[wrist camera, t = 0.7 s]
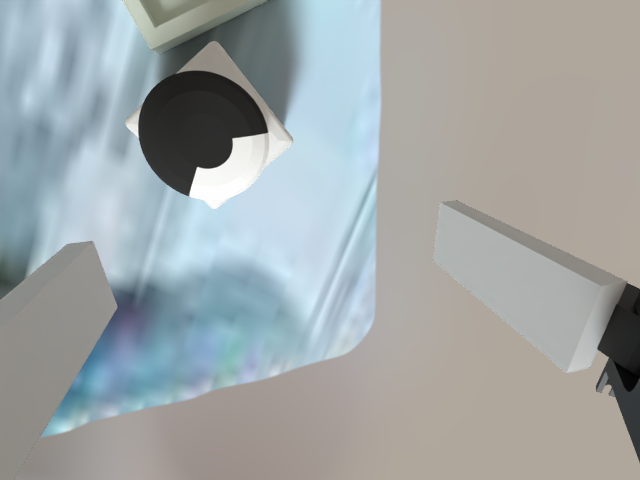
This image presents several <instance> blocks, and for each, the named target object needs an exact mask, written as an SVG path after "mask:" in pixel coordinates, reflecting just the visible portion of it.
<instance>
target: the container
mask: <svg viewBox="0 0 640 480" xmlns="http://www.w3.org/2000/svg"><path fill="white" fill-rule="evenodd" d="M126 126H127V127H128V128H129V129H130V130H131V131H132V132H133V133H134V134H135V135H136V136H137V137H138V138H139V141H140V145H141V148H142V151H143V154H144V156H145V158H146V160H147V162H148V164H149V165H150V167H151V168H152V170H153V171H154V172H155V173H156V174H157V176H158V177H159V178H160V179H161V180H162V181H164V182H165V183H166V184H167V185H169V186H170V187H171V188H173V189H174V190H176V191H178V192H180V193H182V194H184V195H187V196H189V197H193V198H197V199H203V200H204V201H205V202H206V203H207V204H208V205H209V206H210V207H211V208H213V209H216V208H219V207H220V206H221V205H222V204H223V203H224V202H226V201H227V200H228V199H229V198H230V197H232V196H235V195H237V194H239V193H241V192H243V191H244V190H246V189H247V188H248V187H250V186H251V185H252V184H253V183H254V182H255V181H256V180H257V178H258V177H259V175H260V174H261V172H262V170H263V169H264V168H265V167H267V166H268V165H269V164H270V163H271V162H272V161H274V160H275V159H276V158H277V157H278V156H279V155H281V154H282V153H283V152H284V151H285V150H286V149H288V148H289V147H290V146H291V145H292V144H293V138H292V136H291V135H290V134H289V133H288V131H287V130H286V129H285V127H284V126H283V125H282V124H281V122H280V121H279V120H278V118H277V117H276V116H275V115H274V113H273V112H272V111H271V109H270V108H269V107H268V106H267V104H266V103H265V102H264V100H263V99H262V98H261V97H260V95H259V94H258V93H257V91H256V90H255V89H254V88H253V86H252V85H251V84H250V82H249V81H248V80H247V79H246V77H245V76H244V75H243V73H242V72H241V71H240V70H239V68H238V67H237V66H236V64H235V63H234V62H233V61H232V59H231V58H230V57H229V55H228V54H227V53H226V52H225V50H224V49H223V48H222V46H221V45H220V44H219V43H218V42H216V41H212V42H210V43H209V44H207V45H206V46H205V47H204V48H203V49H202V50H201V51H200V52H199V53H198V54H197V55H195V56H194V57H193V58H192V59H191V60H190V61H189V62H188V63H187V64H186V65H185V66H183V67H182V68H181V69H180V70H179V71H178V72H177V73H176V74H173V75H171V76H169V77H167V78H165V79H164V80H162V81H161V82H160V83H158V84H157V85H156V86H155V87H154V88H153V89H152V90H151V91H150V93H149V94H148V96H147V97H146V99H145V101H144V103H143V104H142V105H141V106H140V107H139V108H138V109H137V110H136V111H134V112H133V113H132V114H131V115H130V116H129V117H128V118H127V119H126Z"/></svg>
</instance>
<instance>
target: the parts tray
mask: <svg viewBox="0 0 640 480" xmlns="http://www.w3.org/2000/svg"><path fill="white" fill-rule="evenodd" d="M122 1H123V3H124V5H125V6H126V8H127V10H128V11H129V13H130V15H131V16H132V18H133V20H134V21H135V23H136V25H137V26H138V28H139V30H140V31H141V33H142V35H143V36H144V38H145V40H146V42H147V43H148V45H149V47H150V48H151V50H153V51H155V52H156V53H158V54H162V53H164V52H166V51H168V50H170V49H172V48H174V47H176V46H178V45H180V44H182V43H184V42H186V41H188V40H190V39H192V38H194V37H196V36H198V35H200V34H202V33H204V32H206V31H208V30H210V29H212V28H214V27H216V26H219V25H221V24H223V23H225V22H227V21H229V20H231V19H233V18H235V17H237V16H239V15H241V14H243V13H245V12H247V11H249V10H251V9H253V8H255V7H257V6H259V5H261V4H263V3H265V2H267V1H269V0H122Z"/></svg>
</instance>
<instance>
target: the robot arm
mask: <svg viewBox="0 0 640 480" xmlns="http://www.w3.org/2000/svg"><path fill="white" fill-rule="evenodd" d="M433 261H434V262H436V263H437V264H438V265H439V266H440V267H441V268H443V269H444V270H445V271H446V272H447V273H448V274H450V275H451V276H452V277H453V278H455V279H456V280H457V281H458V282H459V283H460V284H461V285H463V286H464V287H465V288H466V289H468V290H469V291H470V292H471V293H472V294H473V295H475V296H476V297H477V298H478V299H479V300H480V301H482V302H483V303H484V304H485V305H486V306H488V307H489V308H490V309H491V310H492V311H493V312H495V313H496V314H497V315H498V316H499V317H501V318H502V319H503V320H504V321H505V322H506V323H508V324H509V325H510V326H511V327H512V328H514V329H515V330H516V331H517V332H518V333H519V334H521V335H522V336H523V337H524V338H525V339H527V340H528V341H529V342H530V343H531V344H533V345H534V346H535V347H536V348H537V349H538V350H540V351H541V352H542V353H543V354H544V355H546V356H547V357H548V358H549V359H550V360H551V361H553V362H554V363H555V364H556V365H558V366H559V367H560V368H561V369H562V370H563V371H565V372H566V373H569V372H574V371H578V370H582V369H586V368H590V366H591V363H592V361H593V359H594V357H595V354H596V352H597V350H599V351H601V352H602V353H604V354H605V355H606V356H608V357H609V359H608V361H607V364H606V366H605V368H604V370H603V372H602V374H601V377H600V379H599V381H598V383H597V385H596V392H600V393H602V390H603V389H604V386H605V385H608V384H609V385H611V386H612V389H611V391H610V393H609V395H610V396H613V397H616V400H617V402H618V405H619V408H620V410H621V413H622V416H623V419H624V421H625V424H626V427H627V429H628V432H629V435H630V437H631V440H632V442H633V445H634V448H635V451H636V454H637V456H638V459H639V461H640V289H639V288H637V287H635V286H632V285H630V284H628V283H627V281H625V280H623V279H621V278H619V277H617V276H615V275H613V274H611V273H609V272H606V271H604V270H602V269H600V268H598V267H596V266H594V265H592V264H590V263H587V262H585V261H583V260H581V259H579V258H577V257H575V256H573V255H571V254H569V253H566V252H564V251H562V250H560V249H558V248H556V247H554V246H552V245H550V244H547V243H545V242H543V241H541V240H539V239H537V238H535V237H532V236H531V235H528V234H526V233H524V232H522V231H520V230H518V229H516V228H514V227H512V226H509V225H507V224H505V223H503V222H501V221H499V220H497V219H495V218H493V217H491V216H488V215H486V214H484V213H482V212H480V211H478V210H476V209H474V208H471V207H469V206H467V205H465V204H463V203H461V202H459V201H457V200H456V201H447V202H440V208H439V216H438V225H437V232H436V239H435V247H434V254H433ZM116 309H117V304H116V302H115V299H114V296H113V294H112V291H111V288H110V286H109V283H108V280H107V277H106V275H105V272H104V269H103V267H102V264H101V261H100V259H99V256H98V253H97V250H96V248H95V245H94V242H93V241H89V242H80V243H71V244H67V245H66V246H65V247H63V248H62V249H61V250H60V251H59V252H57V253H56V254H55V255H54V256H53V257H51V258H50V259H49V260H48V261H47V262H45V263H44V264H43V265H42V266H41V267H39V268H38V269H37V270H36V271H35V272H33V273H32V274H31V275H30V276H29V277H27V278H26V279H25V280H24V281H23V282H21V283H20V284H19V285H18V286H17V287H15V288H14V289H13V290H12V291H11V292H9V293H8V294H7V295H6V296H5V297H3V298H2V299H1V300H0V480H15V479H16V477H17V475H18V474H19V472H20V470H21V469H22V467H23V465H24V464H25V462H26V460H27V459H28V457H29V455H30V453H31V452H32V450H33V448H34V447H35V445H36V443H37V442H38V440H39V438H40V437H41V435H42V433H43V432H44V430H45V428H46V427H47V425H48V423H49V422H50V420H51V418H52V417H53V415H54V413H55V411H56V410H57V408H58V406H59V405H60V403H61V401H62V400H63V398H64V396H65V395H66V393H67V391H68V390H69V388H70V386H71V385H72V383H73V381H74V380H75V378H76V376H77V374H78V373H79V371H80V369H81V368H82V366H83V364H84V363H85V361H86V359H87V358H88V356H89V354H90V353H91V351H92V349H93V348H94V346H95V344H96V343H97V341H98V339H99V338H100V336H101V334H102V332H103V331H104V329H105V327H106V326H107V324H108V322H109V321H110V319H111V317H112V316H113V314H114V312H115V311H116Z"/></svg>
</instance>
